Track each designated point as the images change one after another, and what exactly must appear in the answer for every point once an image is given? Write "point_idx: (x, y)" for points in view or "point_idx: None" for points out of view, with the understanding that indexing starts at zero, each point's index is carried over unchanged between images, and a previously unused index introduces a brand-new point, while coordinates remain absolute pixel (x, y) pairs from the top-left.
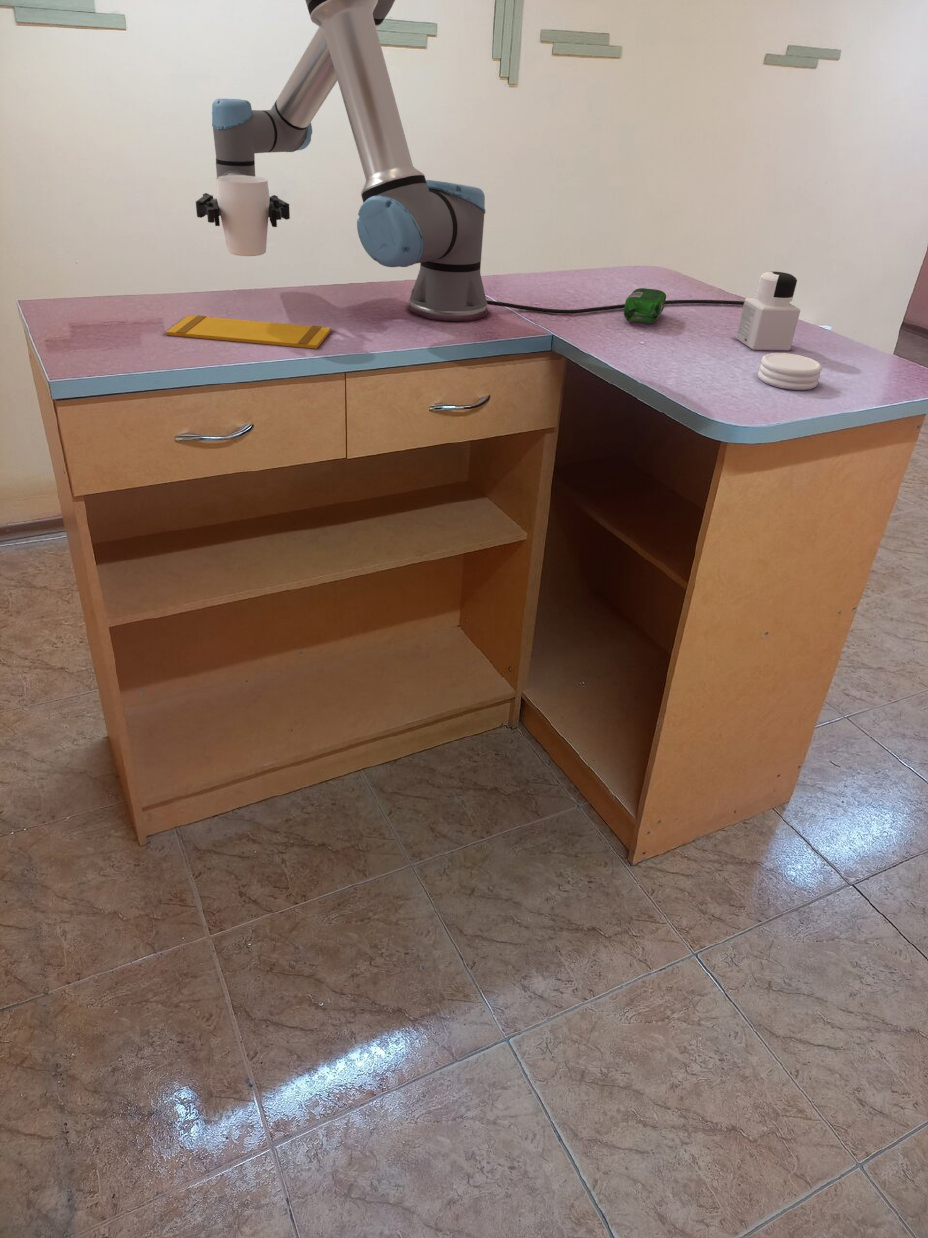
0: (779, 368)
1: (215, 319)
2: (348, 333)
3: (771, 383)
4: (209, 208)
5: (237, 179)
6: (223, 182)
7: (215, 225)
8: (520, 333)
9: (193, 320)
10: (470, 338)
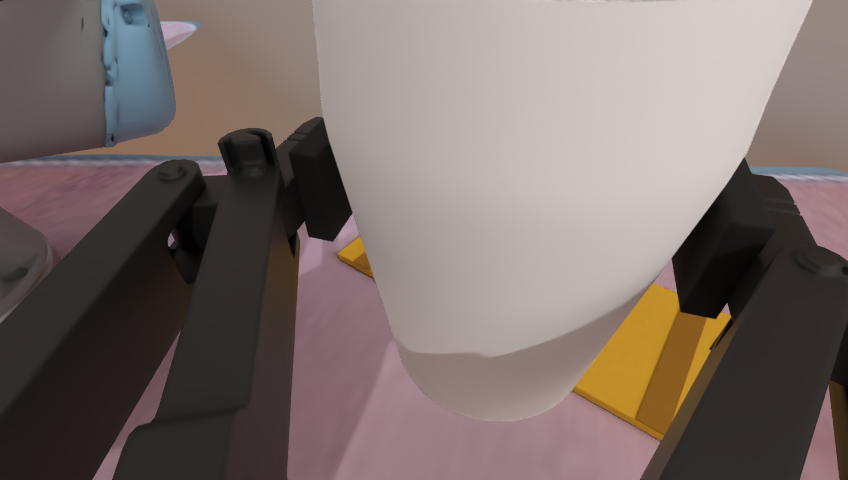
0: None
1: (606, 382)
2: (313, 240)
3: None
4: (769, 197)
5: (550, 67)
6: None
7: None
8: (30, 175)
9: (675, 384)
10: (135, 176)
